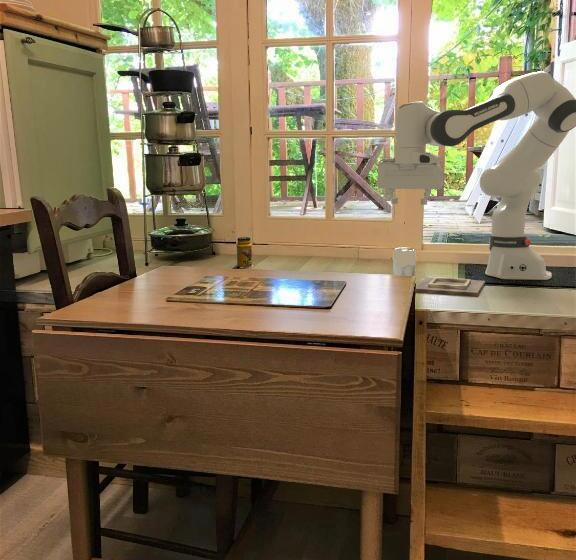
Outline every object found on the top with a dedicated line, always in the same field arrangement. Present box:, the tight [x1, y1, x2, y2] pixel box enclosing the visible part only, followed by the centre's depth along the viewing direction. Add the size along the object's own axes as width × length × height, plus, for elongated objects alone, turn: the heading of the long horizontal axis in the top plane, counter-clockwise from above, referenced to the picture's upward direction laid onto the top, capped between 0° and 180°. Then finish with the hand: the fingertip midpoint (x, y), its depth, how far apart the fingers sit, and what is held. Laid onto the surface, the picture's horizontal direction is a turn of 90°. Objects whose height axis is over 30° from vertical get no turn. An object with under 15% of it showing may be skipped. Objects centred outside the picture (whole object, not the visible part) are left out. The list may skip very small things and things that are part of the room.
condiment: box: [232, 236, 255, 269], centre depth 251 cm, size 7×8×12 cm
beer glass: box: [392, 247, 417, 277], centre depth 191 cm, size 7×7×15 cm
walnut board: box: [415, 276, 486, 297], centre depth 204 cm, size 20×20×2 cm
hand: (408, 204), depth 189 cm, fingers open, 8 cm apart
